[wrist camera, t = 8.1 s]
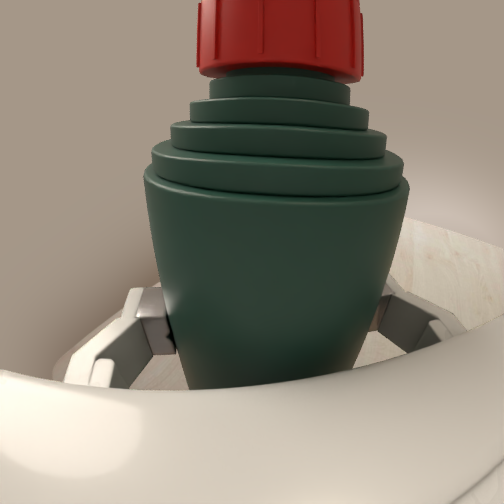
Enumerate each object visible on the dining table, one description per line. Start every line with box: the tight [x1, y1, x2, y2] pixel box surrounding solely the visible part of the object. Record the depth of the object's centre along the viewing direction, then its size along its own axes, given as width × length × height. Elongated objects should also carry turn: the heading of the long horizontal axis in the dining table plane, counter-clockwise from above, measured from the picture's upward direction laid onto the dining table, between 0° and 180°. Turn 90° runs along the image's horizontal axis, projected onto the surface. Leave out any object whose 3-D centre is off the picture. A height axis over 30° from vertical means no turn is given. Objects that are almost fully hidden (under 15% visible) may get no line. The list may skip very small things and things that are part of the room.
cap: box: [197, 0, 364, 84], centre depth 5 cm, size 4×4×2 cm
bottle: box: [143, 67, 410, 390], centre depth 9 cm, size 7×7×18 cm
